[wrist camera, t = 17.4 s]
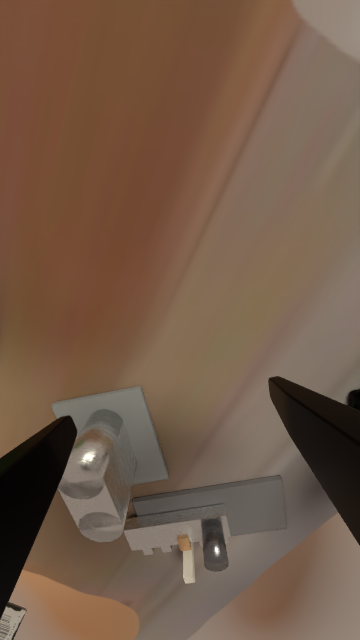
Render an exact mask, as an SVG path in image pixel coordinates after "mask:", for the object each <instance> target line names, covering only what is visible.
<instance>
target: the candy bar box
mask: <svg viewBox="0 0 360 640" xmlns="http://www.w3.org/2000/svg"><path fill="white" fill-rule="evenodd" d="M26 611H27V610H26V609H25V608H23V607H20V606H18V605H15V604H13V603H10V602H8V604H7V606H6V608H5V611H4V613H3V615H2V618H1V620H0V640H13V639H14V637H15V634H16V632H17V630H18V628H19V626H20V624H21V621H22V619H23V617H24V615H25V613H26Z"/></svg>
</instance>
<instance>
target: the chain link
mask: <svg viewBox="0 0 360 640" xmlns="http://www.w3.org/2000/svg"><path fill="white" fill-rule="evenodd" d="M136 469H137V459H136V456H135V453H134V450H133V447H132V444H131V442H130V439H129V436H128V433H127V430H126V427H125V425H124V422H123V419H122V418H121V417H120V415H118V414H117V413H116V412H114V411H111V410H107V409H102V410H97V411H95V412H94V413H92V414H91V415H90V417H89V418H88V420H87V422H86V423H85V425H84V427H83V428H82V430H81V432H80V433H79V435H78V437H77V438H76V440H75V443H74V445H73V448H72V451H71V454H70V457H69V460H68V463H67V466H66V469H65V472H64V474H63V476H62V479H61V481H60V484H59V486H58V490H59V492H60V494H61V496H62V498H63V500H64V502H65V504H66V505H67V507H68V509H69V511H70V513H71V515H72V517H73V519H74V521H75V523H76V525H77V527H78V529H79V531H80V532H81V533H82V535H84V536H85V537H86V538H88V539H90V540H92V541H96V542H110V541H113V540H116V539H117V538H119V537H120V536H121V534H122V533H123V529H124V524H125V520H126V515H127V510H128V506H129V501H130V496H131V492H132V487H133V483H134V478H135V473H136Z"/></svg>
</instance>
